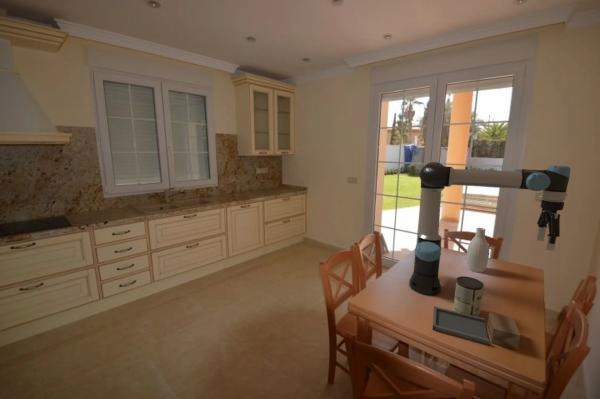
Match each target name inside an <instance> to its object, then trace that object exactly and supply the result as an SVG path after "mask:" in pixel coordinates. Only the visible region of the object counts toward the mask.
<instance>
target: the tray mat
mask: <svg viewBox="0 0 600 399" xmlns="http://www.w3.org/2000/svg"><path fill="white" fill-rule="evenodd" d="M432 319H433V320H432V330H433V331H436V332H440V333H442V334H447V335H450V336H453V337H454V336H455V337H457V338H461V339H465V340H469V341H471V342H475V343H480V344H482V345H483V344H484V345H487V346H490V342H491V340H490V338H488V333H487V328H486V324H485V318H484V317H480V316H477V317H476V316H472V315H468V314H464V313H460V312H457V311H456V310H450V309H446V308H442V307H438V306H433V316H432Z"/></svg>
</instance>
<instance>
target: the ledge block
mask: <svg viewBox="0 0 600 399" xmlns="http://www.w3.org/2000/svg"><path fill="white" fill-rule="evenodd" d="M486 326H487V330H488V335H489V340H490V342H491V344H495V345H498V346H502V347H506V348H509V349H513V350H515V351H516V350H517V351H518V350H519V347H520V346H519V345H520V341H521V340H520V339H521V333H520V331H519V328H518V326H517V324H516V320H515V319H514V318H513V317H509V316H505V315H500V314H497V313H496V314H495V313H492V312H488V319H487V325H486Z"/></svg>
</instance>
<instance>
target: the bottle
mask: <svg viewBox="0 0 600 399" xmlns="http://www.w3.org/2000/svg"><path fill="white" fill-rule="evenodd" d="M475 229H476V231H475V234H474V235H475V236H474V237H472V239H471V240H470V242H469V244H468V247H467V249H466V267H467V269H468V270H469V271H472V272H474V273H485V271H486V268H487V266H488V263H489V257H490V246H489V243H488V241H487V239H486V228H483V227H476V228H475Z"/></svg>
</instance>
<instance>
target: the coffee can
mask: <svg viewBox="0 0 600 399" xmlns="http://www.w3.org/2000/svg"><path fill="white" fill-rule="evenodd" d="M484 286H485V285H484V283H483V282H482V281H481V280H479V279H477V278H474V277H471V276H465V275H464V276H463V275H462V276H458V277H457V278H456V280H455V291H454V301H453V310H454V311H455V312H460V313H464V314H468V315H472V316H476V317H480V314H481V305H482V298H483V290H484Z"/></svg>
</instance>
